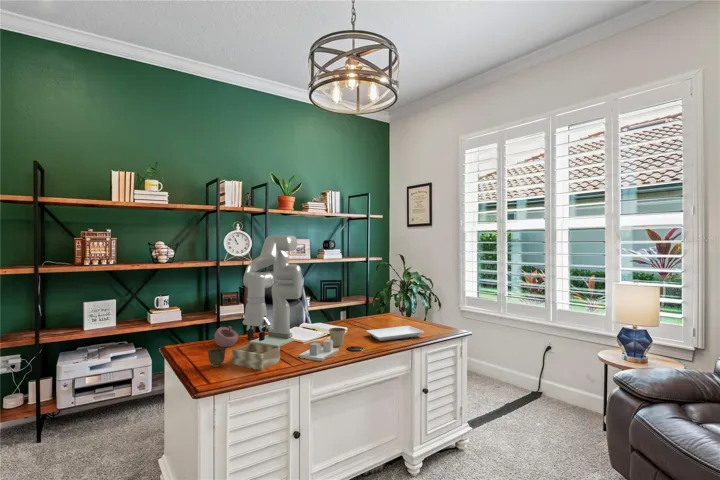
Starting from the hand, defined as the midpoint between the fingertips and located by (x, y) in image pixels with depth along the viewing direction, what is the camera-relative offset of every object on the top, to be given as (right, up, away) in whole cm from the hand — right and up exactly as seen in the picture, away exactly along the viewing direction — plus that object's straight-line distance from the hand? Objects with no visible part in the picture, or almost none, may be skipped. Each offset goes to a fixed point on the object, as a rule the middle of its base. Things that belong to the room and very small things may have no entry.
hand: (256, 339), depth 171 cm
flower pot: (+36, -12, +30) cm, 48 cm away
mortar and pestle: (-23, -12, +26) cm, 37 cm away
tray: (+69, -12, +50) cm, 86 cm away
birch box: (0, -11, 0) cm, 11 cm away
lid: (+5, -4, +11) cm, 12 cm away
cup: (-16, -12, -4) cm, 21 cm away
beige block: (+32, -10, +17) cm, 38 cm away
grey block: (+26, -10, +11) cm, 30 cm away
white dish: (+28, -11, +14) cm, 33 cm away
